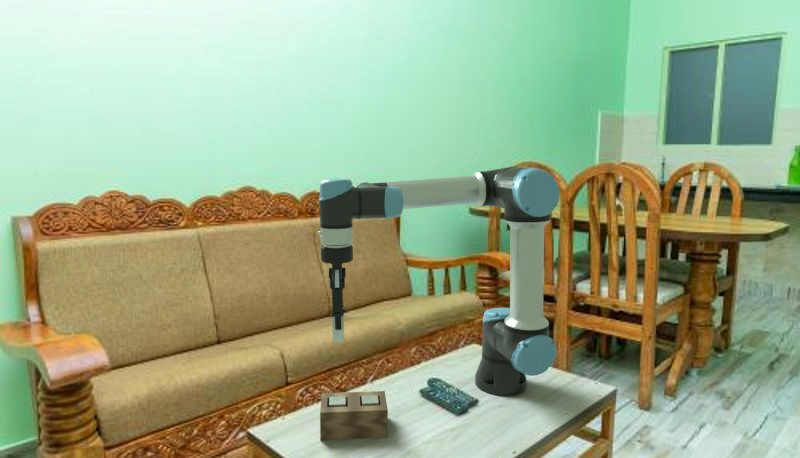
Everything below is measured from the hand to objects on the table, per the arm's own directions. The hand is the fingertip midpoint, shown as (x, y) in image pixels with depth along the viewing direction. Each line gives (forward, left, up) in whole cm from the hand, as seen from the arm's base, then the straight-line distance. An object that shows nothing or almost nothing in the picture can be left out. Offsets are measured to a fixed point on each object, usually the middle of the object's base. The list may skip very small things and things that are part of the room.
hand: (338, 340), depth 125 cm
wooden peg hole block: (-4, 0, -23) cm, 23 cm away
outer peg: (0, 0, -22) cm, 22 cm away
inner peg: (-8, 0, -22) cm, 23 cm away
